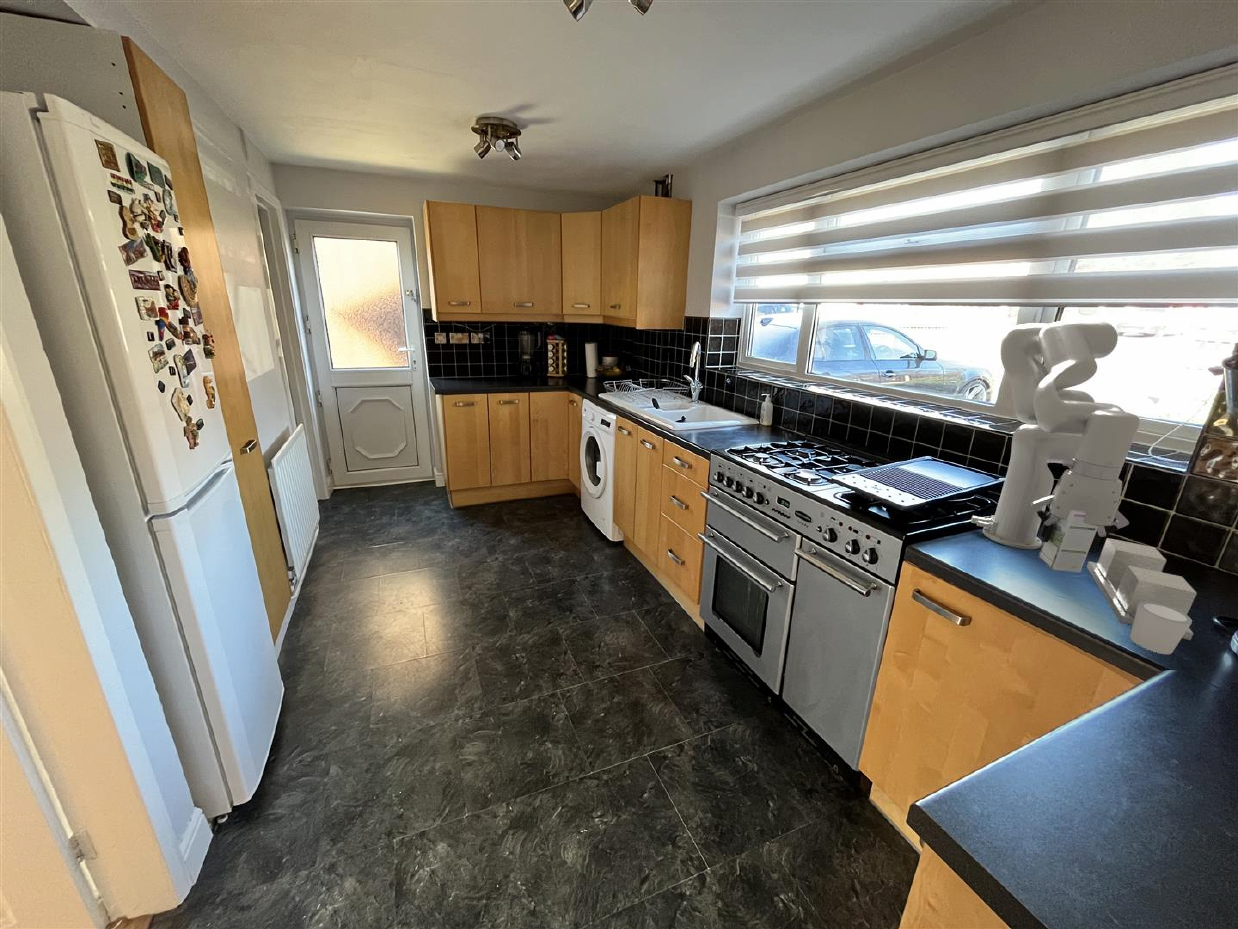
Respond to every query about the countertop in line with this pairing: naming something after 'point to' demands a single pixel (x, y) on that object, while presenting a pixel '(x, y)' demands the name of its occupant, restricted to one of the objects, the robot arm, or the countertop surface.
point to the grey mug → (1158, 627)
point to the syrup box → (1068, 543)
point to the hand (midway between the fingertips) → (1066, 544)
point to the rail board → (1138, 580)
